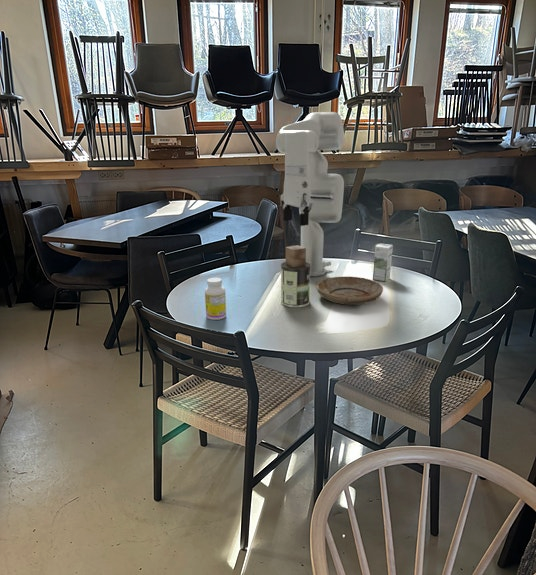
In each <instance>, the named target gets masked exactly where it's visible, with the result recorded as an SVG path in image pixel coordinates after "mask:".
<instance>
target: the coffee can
mask: <svg viewBox="0 0 536 575" xmlns="http://www.w3.org/2000/svg"><path fill="white" fill-rule="evenodd" d="M310 266H311V265H310V264H309V263H307V262H306V265H304V266H298V267H292V266H289V265H287V264H286V261H284V262H282V263H281V264H280V269H281V270H280V271H281V272H280V274H281V275H280V276H281V279H280V280H281V282H280V283H281V284H280V288H281V290H280V291H281V293H280V295H281V297H280V298H281V299H280V303H281V304H282V306H285V307H289V308H304V307H307V306H309V305H310V286H311V285H310V284H311V282H310V281H311V276H310Z"/></svg>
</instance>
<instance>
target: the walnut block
mask: <svg viewBox="0 0 536 575" xmlns="http://www.w3.org/2000/svg"><path fill="white" fill-rule="evenodd" d="M285 262H286V264H287V265H289V266H292V267H298V266H304V265H306V248H304V247H301V245H291V246H286V247H285Z"/></svg>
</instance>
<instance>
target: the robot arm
mask: <svg viewBox="0 0 536 575" xmlns="http://www.w3.org/2000/svg"><path fill="white" fill-rule="evenodd" d="M342 120H343V119H342V117H341V115H340V114H339V113H338V112H337V111H336V112H335V111H318V112H317V111H315V112H311V113H308V114H307V115H306V116H305V118H304V119H303V120H301V121H297V122H293V123H291V124H290V123H289V124H287V125H285V126H282V127H281V129H280V130H279V132H277V135H276V138H275V146H276V149H277V151H278V152H279V153H281V154H284V181H283V190H282V191H283V193H282V194H280V200H281V205H282V209H283V221H285V222H289V221H292V220H293V208H292V207H295V208H298V210H299V226H300V246H301V247H304V248H306V262H307V263H309V264H310V265H311V266H310V277H319V276H323V275H325V274H326V273H327V272H326V268H327V267H329V266H331V265H332V262H331V261H330V260H329V261H325V260H324V259H323V258H324V230H323V228H322V226H321V225H320V223H327V224H329V223H330V224H331V223H333V224H336V223H339V222H340V220H341V219H342V214H343V213H342V212H343V205H344V204H343V203H344V190H345V181H344V177H343V176H342V174H338V173H328V169H329V168H328V166H329V162H328V160H327V159H326V157H325V156H324V154H323V153H322V152H321V151H337V150H341V149H342V148H343V147H344V144H345V138H346V137H345V130H344V129H345V128H344V125H343V121H342ZM311 197H318V198H311ZM324 197H325V198H324ZM329 198H330V199H329Z"/></svg>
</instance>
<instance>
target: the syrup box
mask: <svg viewBox="0 0 536 575" xmlns="http://www.w3.org/2000/svg"><path fill="white" fill-rule="evenodd" d="M393 249H394V245H393V244H389V243H388V244H386V243H377V244H375V245H374V259H373V260H374V262H373V271H372V272H373V273H372V280H373V281H379V282H384V283H385V282H388V281H389V280H390V279H391V270H392V269H391V267H392V258H393ZM389 278H390V279H389ZM388 279H389V280H388Z"/></svg>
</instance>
